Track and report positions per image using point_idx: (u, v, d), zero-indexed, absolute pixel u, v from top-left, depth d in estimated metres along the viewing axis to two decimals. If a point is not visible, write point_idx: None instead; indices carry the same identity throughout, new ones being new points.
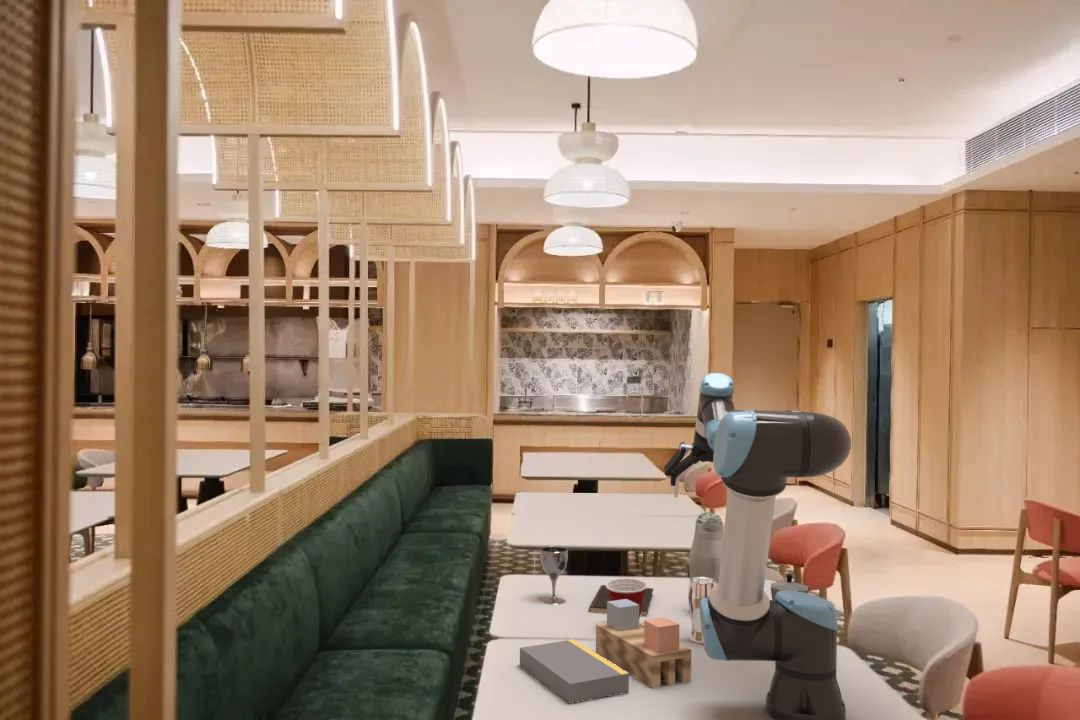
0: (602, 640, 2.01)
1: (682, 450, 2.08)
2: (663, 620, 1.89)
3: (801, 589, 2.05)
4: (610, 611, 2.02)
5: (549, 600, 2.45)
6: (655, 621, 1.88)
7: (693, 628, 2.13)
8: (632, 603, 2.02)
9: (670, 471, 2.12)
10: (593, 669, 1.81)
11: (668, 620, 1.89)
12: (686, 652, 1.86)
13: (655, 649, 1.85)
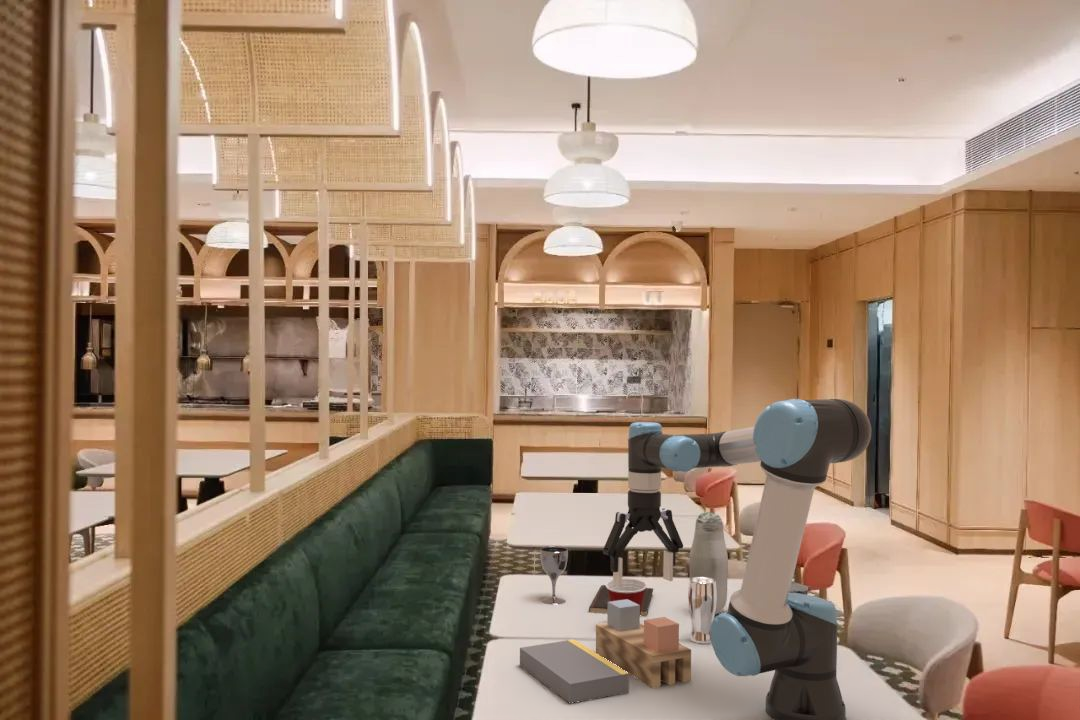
0: (602, 640, 2.01)
1: (622, 516, 1.91)
2: (663, 620, 1.89)
3: (801, 589, 2.05)
4: (610, 611, 2.02)
5: (549, 600, 2.45)
6: (654, 621, 1.88)
7: (693, 628, 2.13)
8: (633, 603, 2.02)
9: (613, 548, 1.90)
10: (593, 669, 1.81)
11: (667, 620, 1.89)
12: (686, 652, 1.86)
13: (655, 649, 1.85)
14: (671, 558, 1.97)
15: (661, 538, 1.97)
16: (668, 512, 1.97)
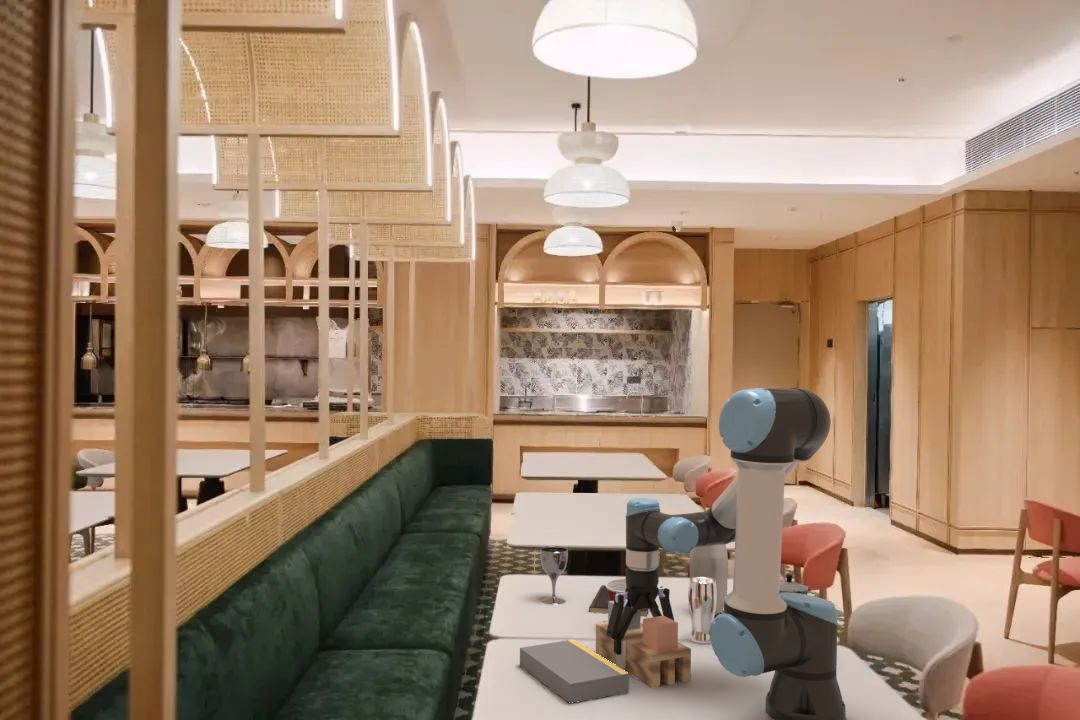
0: (602, 639, 2.01)
1: (620, 598, 1.91)
2: (662, 619, 1.90)
3: (801, 589, 2.05)
4: (611, 611, 2.02)
5: (549, 600, 2.45)
6: (653, 620, 1.89)
7: (693, 628, 2.13)
8: None
9: (615, 631, 1.91)
10: (593, 669, 1.81)
11: (666, 619, 1.90)
12: (686, 651, 1.86)
13: (654, 648, 1.86)
14: None
15: None
16: (666, 591, 1.97)
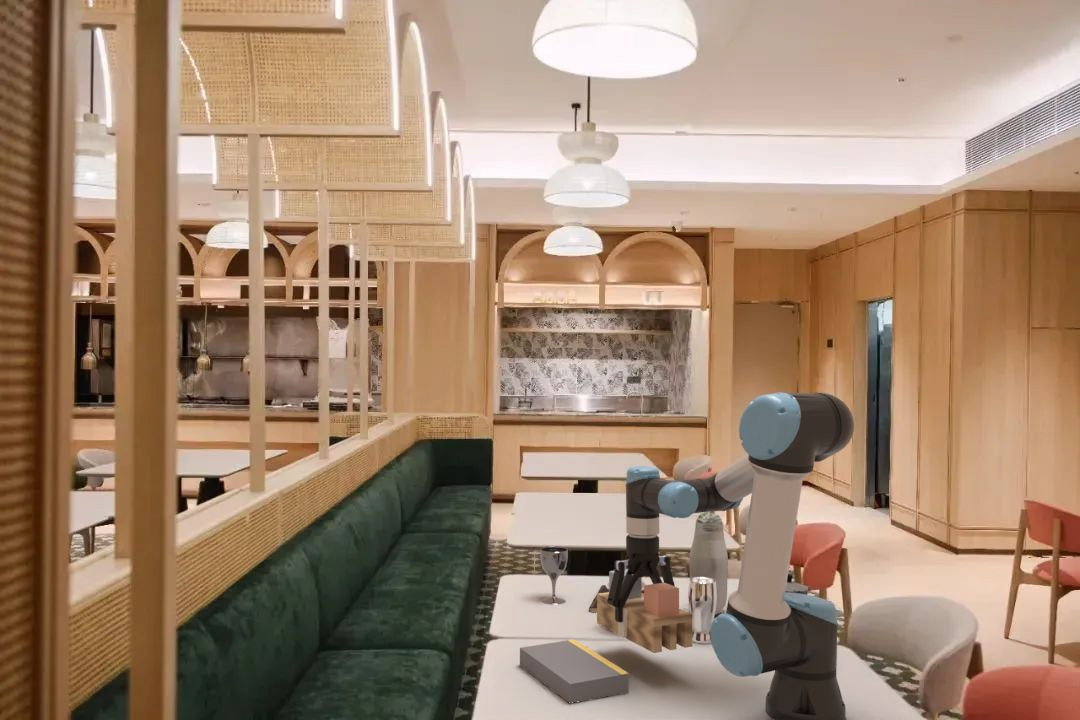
0: (604, 609, 2.00)
1: (621, 565, 1.91)
2: (663, 585, 1.89)
3: (801, 589, 2.05)
4: None
5: (549, 600, 2.45)
6: (654, 586, 1.89)
7: (693, 628, 2.13)
8: None
9: (617, 598, 1.90)
10: (593, 669, 1.81)
11: (667, 585, 1.89)
12: (687, 617, 1.86)
13: (655, 613, 1.85)
14: None
15: None
16: (667, 559, 1.97)
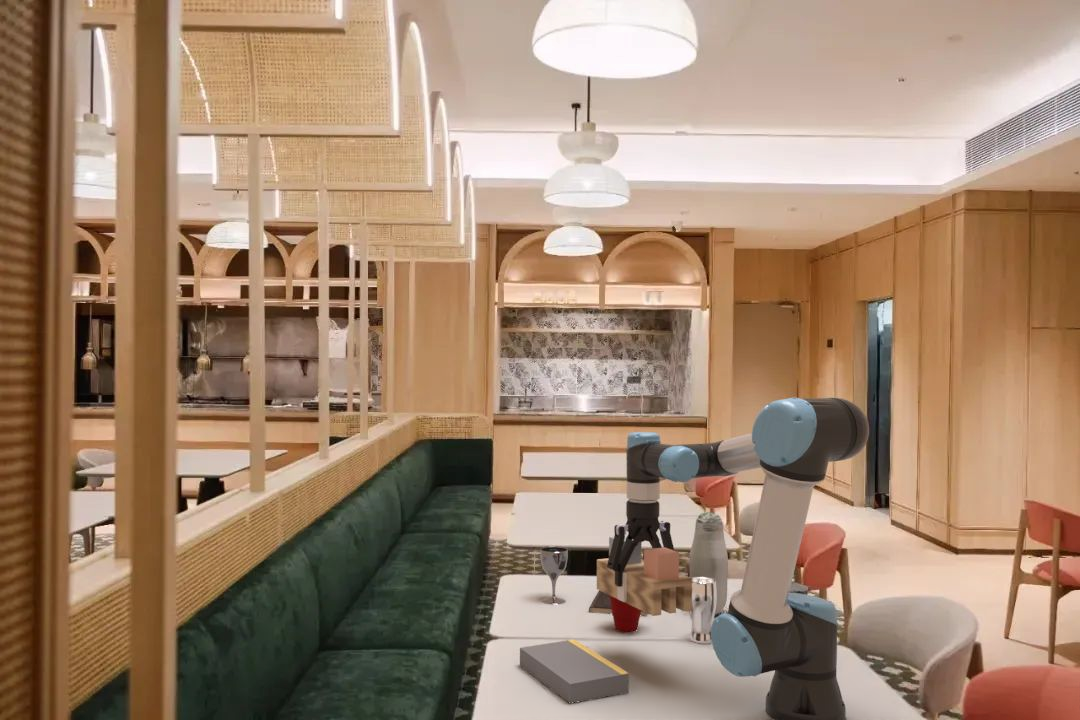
0: (603, 574, 2.01)
1: (621, 529, 1.91)
2: (663, 549, 1.90)
3: (801, 589, 2.05)
4: None
5: (549, 600, 2.45)
6: (654, 550, 1.89)
7: (693, 628, 2.13)
8: None
9: (616, 563, 1.91)
10: (593, 669, 1.81)
11: (667, 549, 1.89)
12: (687, 580, 1.86)
13: (655, 577, 1.86)
14: None
15: None
16: (667, 524, 1.97)
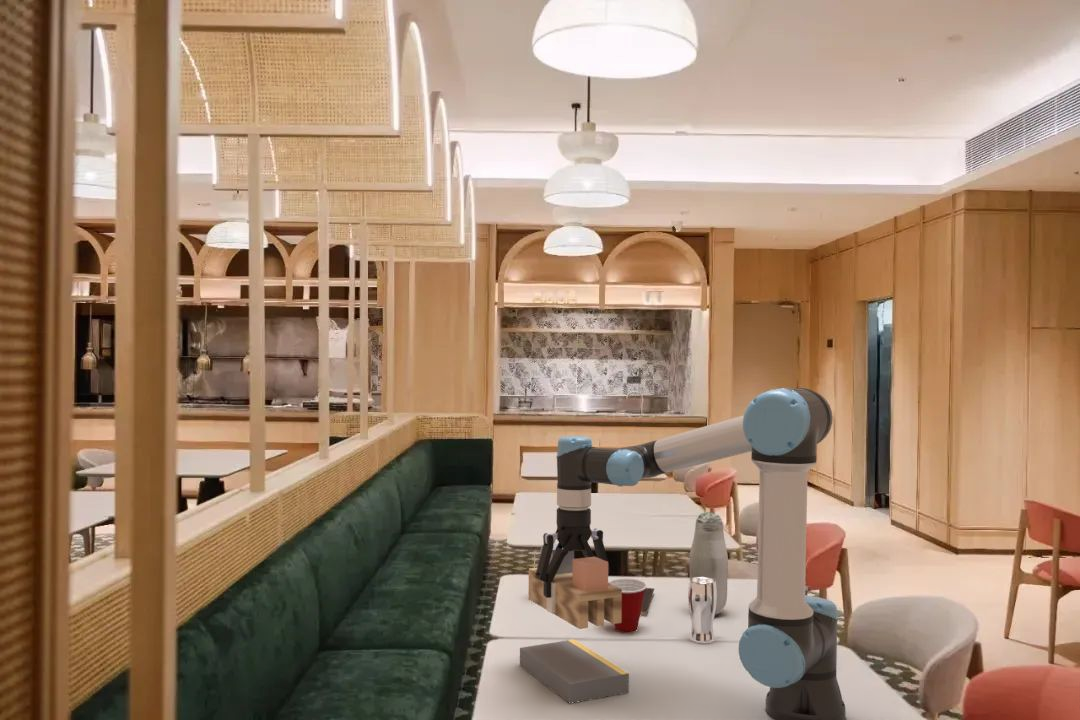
0: (534, 584, 1.93)
1: (549, 538, 1.83)
2: (592, 559, 1.82)
3: None
4: None
5: None
6: (583, 560, 1.81)
7: (693, 628, 2.13)
8: None
9: (544, 573, 1.83)
10: (593, 669, 1.81)
11: (597, 559, 1.81)
12: (616, 592, 1.78)
13: (582, 588, 1.78)
14: None
15: None
16: (599, 532, 1.89)
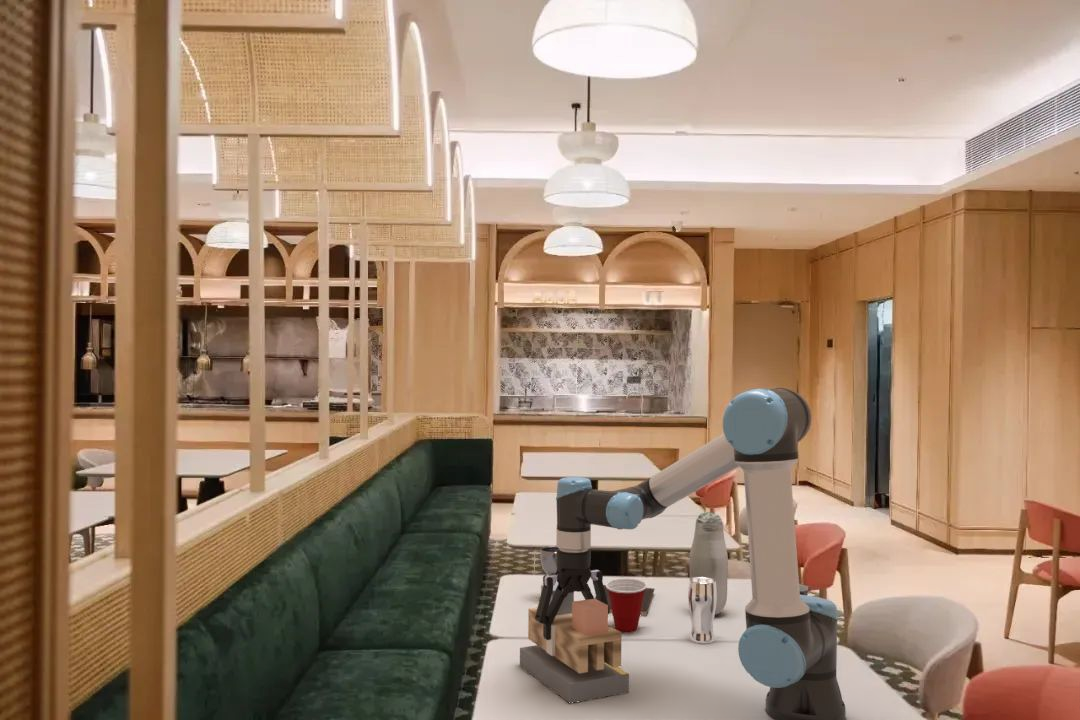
0: (534, 624, 1.93)
1: (549, 580, 1.83)
2: (592, 601, 1.82)
3: (801, 589, 2.05)
4: None
5: None
6: (583, 602, 1.81)
7: (693, 628, 2.13)
8: None
9: (544, 615, 1.83)
10: (593, 669, 1.81)
11: (596, 602, 1.81)
12: (616, 635, 1.78)
13: (582, 631, 1.78)
14: None
15: None
16: (599, 573, 1.89)
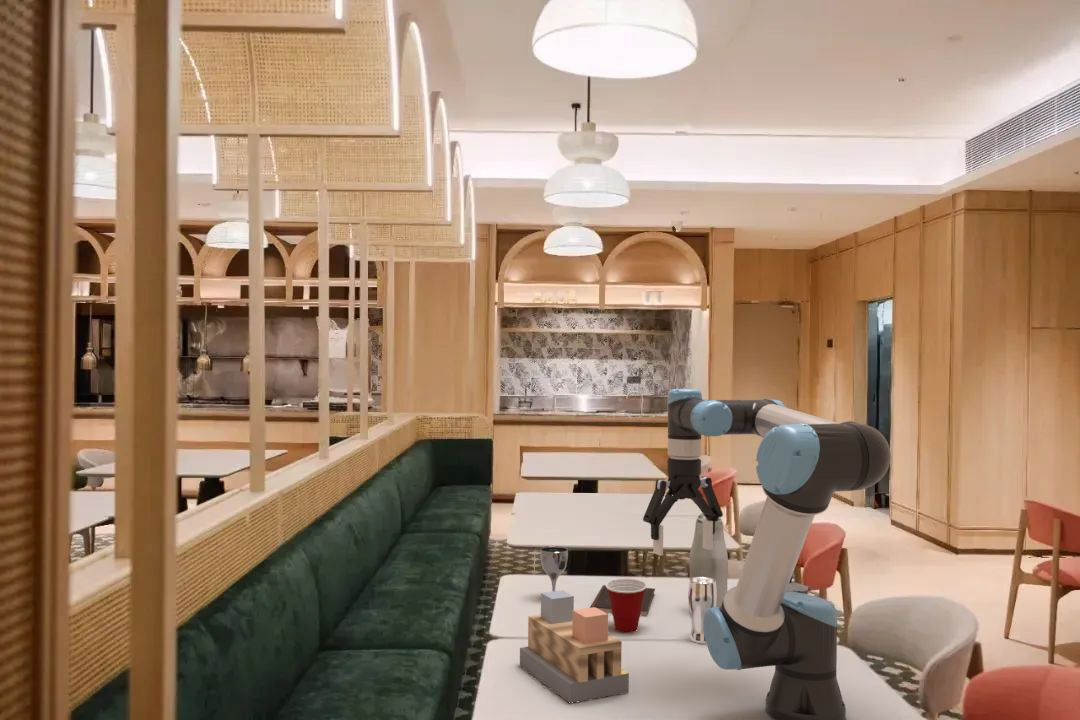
0: (534, 632, 1.93)
1: (663, 483, 1.89)
2: (592, 610, 1.82)
3: (801, 589, 2.05)
4: (543, 602, 1.94)
5: None
6: (583, 611, 1.81)
7: (693, 628, 2.13)
8: (567, 594, 1.93)
9: (654, 516, 1.88)
10: None
11: (597, 610, 1.81)
12: (616, 644, 1.78)
13: (582, 640, 1.78)
14: (711, 526, 1.95)
15: (701, 506, 1.95)
16: (708, 480, 1.94)
